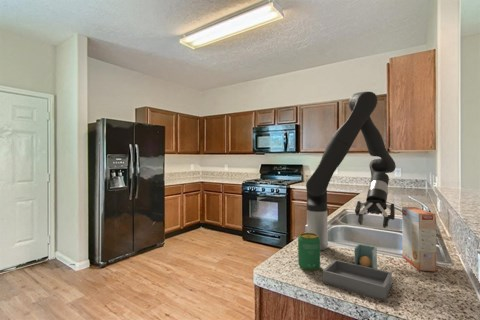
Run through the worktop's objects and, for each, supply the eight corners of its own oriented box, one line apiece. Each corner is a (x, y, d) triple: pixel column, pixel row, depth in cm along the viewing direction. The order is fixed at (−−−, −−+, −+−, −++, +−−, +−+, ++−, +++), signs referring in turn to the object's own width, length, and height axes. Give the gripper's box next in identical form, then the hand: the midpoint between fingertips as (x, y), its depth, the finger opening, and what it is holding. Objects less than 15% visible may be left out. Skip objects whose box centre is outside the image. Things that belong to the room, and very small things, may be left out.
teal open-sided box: (359, 266, 95) (358, 244, 95) (377, 270, 92) (376, 247, 92) (354, 272, 91) (354, 248, 91) (373, 276, 87) (373, 251, 87)
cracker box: (438, 272, 89) (436, 213, 89) (418, 271, 91) (417, 213, 91) (418, 257, 103) (417, 206, 103) (402, 256, 104) (401, 206, 104)
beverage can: (319, 263, 99) (318, 232, 99) (321, 272, 91) (320, 239, 91) (298, 262, 100) (297, 231, 100) (298, 270, 93) (298, 237, 93)
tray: (322, 283, 83) (322, 270, 83) (335, 270, 92) (335, 259, 92) (385, 301, 71) (385, 287, 72) (392, 285, 81) (391, 272, 81)
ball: (357, 267, 92) (356, 257, 91) (363, 262, 94) (362, 252, 93) (368, 271, 88) (367, 261, 88) (374, 266, 91) (373, 256, 90)
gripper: (358, 186, 111) (351, 217, 102) (395, 188, 102) (391, 222, 93) (361, 197, 115) (355, 227, 106) (397, 200, 107) (394, 233, 98)
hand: (372, 225), depth 100 cm, fingers open, 8 cm apart
